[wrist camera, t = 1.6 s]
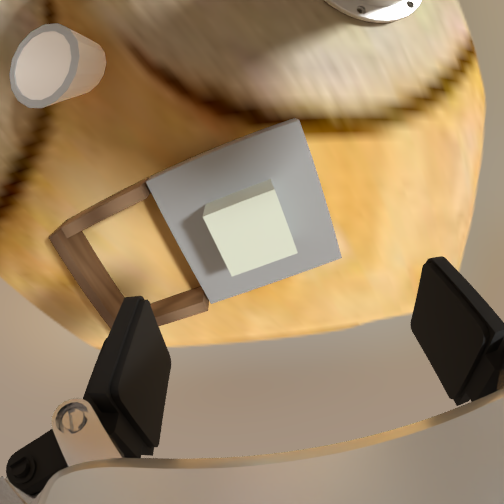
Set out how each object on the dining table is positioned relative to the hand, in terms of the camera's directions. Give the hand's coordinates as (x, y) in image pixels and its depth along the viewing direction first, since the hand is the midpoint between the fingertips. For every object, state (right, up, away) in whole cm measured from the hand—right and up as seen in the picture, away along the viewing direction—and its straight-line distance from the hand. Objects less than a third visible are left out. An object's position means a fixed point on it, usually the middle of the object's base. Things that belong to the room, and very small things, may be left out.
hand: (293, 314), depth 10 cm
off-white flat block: (-2, +5, +18) cm, 19 cm away
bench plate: (-2, +6, +20) cm, 21 cm away
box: (-13, +1, +22) cm, 25 cm away
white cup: (-17, +19, +12) cm, 28 cm away
